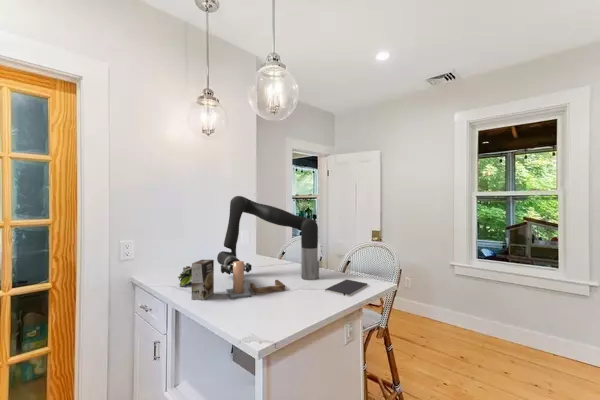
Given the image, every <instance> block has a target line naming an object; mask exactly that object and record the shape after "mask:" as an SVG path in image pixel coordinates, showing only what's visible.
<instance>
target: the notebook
mask: <svg viewBox="0 0 600 400" xmlns="http://www.w3.org/2000/svg"><path fill="white" fill-rule="evenodd" d="M367 287H368V283H367V282H362V281H356V280H352V279H343V280H342V281H340V282H338V283H336V284H333V285H332V286H329V287H326V288H325V292H328V293H332V294H336V295H341V296H346V297H351V296H353V295H354V294H356V293H357V292H359V291H361V290H363V289H364V288H365V289H366V288H367Z"/></svg>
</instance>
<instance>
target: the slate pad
mask: <svg viewBox="0 0 600 400" xmlns="http://www.w3.org/2000/svg"><path fill="white" fill-rule="evenodd" d="M225 291H226V293H227V295H228V297H229V298H230V300H235V299H243V298H250V297H251V296H252V295H251V292H249V290H248V289H247V288H246V287H245V286H244V292H243V293H240V294H235V293H233V288H227V289H226V290H225ZM251 298H252V297H251Z"/></svg>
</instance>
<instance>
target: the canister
mask: <svg viewBox="0 0 600 400" xmlns="http://www.w3.org/2000/svg"><path fill="white" fill-rule="evenodd" d="M244 264H245V261H243V260H240V261H235V262H233V273H232V289H233V293H235V294H240V293H243V292H244V287H245V271H244Z"/></svg>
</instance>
